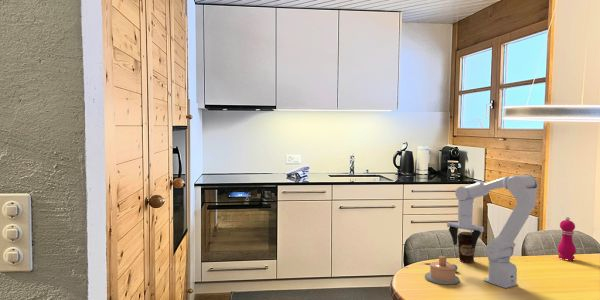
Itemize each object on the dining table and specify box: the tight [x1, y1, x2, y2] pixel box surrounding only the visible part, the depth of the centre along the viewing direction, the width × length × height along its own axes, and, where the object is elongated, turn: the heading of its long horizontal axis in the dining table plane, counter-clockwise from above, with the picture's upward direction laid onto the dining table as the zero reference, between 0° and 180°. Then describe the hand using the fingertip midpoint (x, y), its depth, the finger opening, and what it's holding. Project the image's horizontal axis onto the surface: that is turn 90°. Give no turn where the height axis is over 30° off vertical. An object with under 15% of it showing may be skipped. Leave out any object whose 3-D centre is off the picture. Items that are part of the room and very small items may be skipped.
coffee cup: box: [457, 231, 476, 263], centre depth 183 cm, size 9×8×13 cm
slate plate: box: [424, 271, 460, 286], centre depth 159 cm, size 13×13×1 cm
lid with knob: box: [429, 255, 456, 281], centre depth 160 cm, size 10×10×8 cm
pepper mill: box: [557, 216, 577, 260], centre depth 187 cm, size 7×7×20 cm
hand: (464, 246), depth 170 cm, fingers open, 7 cm apart
